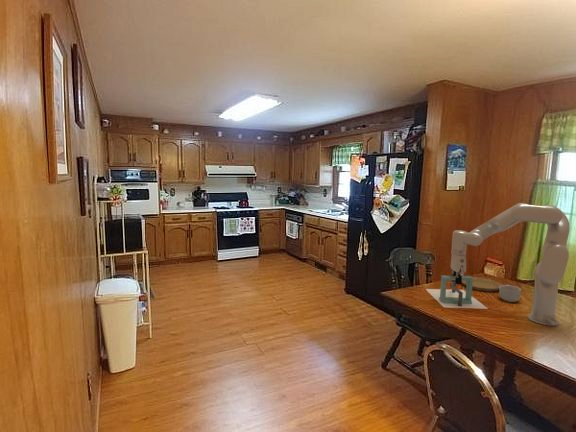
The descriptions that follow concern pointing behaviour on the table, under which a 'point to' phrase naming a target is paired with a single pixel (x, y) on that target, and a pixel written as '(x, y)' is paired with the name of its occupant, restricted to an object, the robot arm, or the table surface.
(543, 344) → the table surface
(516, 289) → the teacup
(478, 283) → the plant saucer
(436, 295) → the base board
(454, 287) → the dark hinged linkage
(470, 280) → the teal rectangular frame
